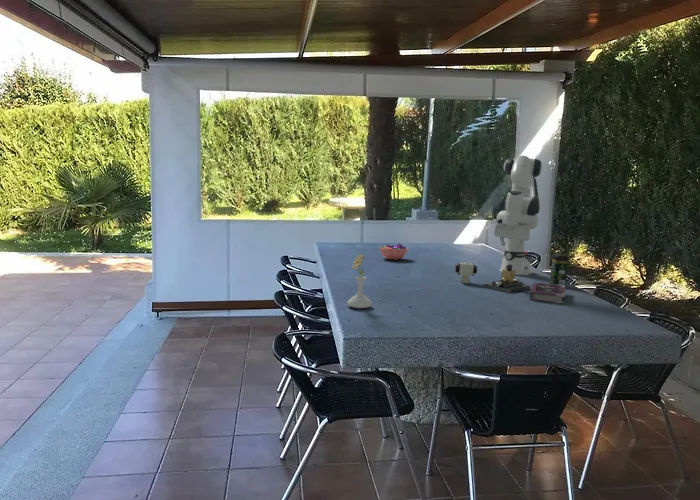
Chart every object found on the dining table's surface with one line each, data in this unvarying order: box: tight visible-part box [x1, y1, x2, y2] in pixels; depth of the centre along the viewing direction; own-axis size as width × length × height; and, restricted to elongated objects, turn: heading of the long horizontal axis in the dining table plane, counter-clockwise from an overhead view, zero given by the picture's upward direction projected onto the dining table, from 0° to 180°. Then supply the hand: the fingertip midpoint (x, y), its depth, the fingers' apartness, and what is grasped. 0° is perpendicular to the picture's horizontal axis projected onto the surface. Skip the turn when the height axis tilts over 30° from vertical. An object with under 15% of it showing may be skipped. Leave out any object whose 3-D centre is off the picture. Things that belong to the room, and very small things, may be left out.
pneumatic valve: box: [454, 261, 478, 284], centre depth 326 cm, size 6×12×12 cm, turn 87°
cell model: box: [379, 242, 410, 261], centre depth 392 cm, size 17×20×11 cm
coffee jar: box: [549, 252, 569, 287], centre depth 327 cm, size 10×8×19 cm
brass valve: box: [500, 264, 516, 284], centre depth 315 cm, size 9×5×11 cm, turn 131°
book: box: [529, 282, 566, 304], centre depth 299 cm, size 25×16×5 cm, turn 160°
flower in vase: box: [346, 253, 373, 309], centre depth 260 cm, size 13×11×25 cm
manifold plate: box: [483, 277, 532, 294], centre depth 316 cm, size 20×16×4 cm
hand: (510, 246), depth 313 cm, fingers open, 8 cm apart
